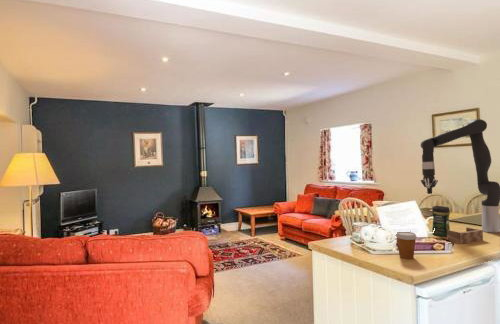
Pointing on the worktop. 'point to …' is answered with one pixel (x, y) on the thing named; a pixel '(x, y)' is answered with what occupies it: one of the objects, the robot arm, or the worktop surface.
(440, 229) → the coffee jar
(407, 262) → the worktop surface
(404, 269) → the worktop surface
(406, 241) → the disposable coffee cup
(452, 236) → the bracket
